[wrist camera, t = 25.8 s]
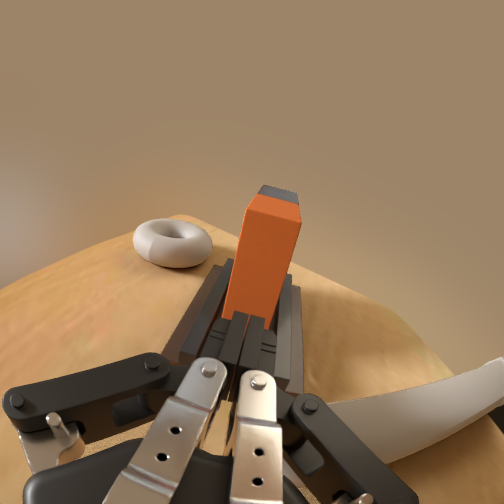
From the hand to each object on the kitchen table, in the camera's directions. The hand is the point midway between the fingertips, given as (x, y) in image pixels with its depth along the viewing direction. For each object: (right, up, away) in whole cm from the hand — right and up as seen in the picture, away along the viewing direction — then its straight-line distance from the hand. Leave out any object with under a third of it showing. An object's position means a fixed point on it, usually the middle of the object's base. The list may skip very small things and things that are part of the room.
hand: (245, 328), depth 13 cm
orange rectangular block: (0, -2, +10) cm, 11 cm away
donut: (-10, +3, +22) cm, 24 cm away
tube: (+12, -10, +2) cm, 16 cm away
